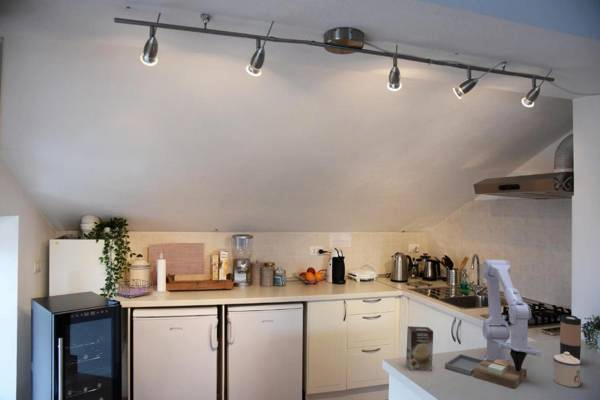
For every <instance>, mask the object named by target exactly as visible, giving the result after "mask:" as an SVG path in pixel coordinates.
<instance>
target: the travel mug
mask: <svg viewBox="0 0 600 400" xmlns="http://www.w3.org/2000/svg"><path fill="white" fill-rule="evenodd" d="M559 327H560V328H559V329H560V330H559V331H560V332H559V333H560V334H559V335H560V336H559V349H560V350H559V355H560V354H564V352H569V353H570V355H571V356H573V357H574V358H577V359H578V360H580V361H581V348H582V347H581V345H582V318H579V317H577V316H576V315H571V314H561V315H560V326H559Z"/></svg>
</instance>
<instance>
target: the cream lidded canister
mask: <svg viewBox="0 0 600 400" xmlns="http://www.w3.org/2000/svg"><path fill="white" fill-rule="evenodd" d="M552 359H553V377H552V378H553V381H554V382H555V383H557V384H558V385H561V386H565V387H569V388H577V387H579V386H581V365H582V362H581V359H580V360H578V359H577V358H574V357H573V356H571V355H570V353H569V352H564V354H560V353H559V354H554V356H553V357H552Z"/></svg>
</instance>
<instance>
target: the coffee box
mask: <svg viewBox="0 0 600 400" xmlns="http://www.w3.org/2000/svg"><path fill="white" fill-rule="evenodd" d="M406 332H407V336H406V357H405V359H406V360H405V364H406V366H407V367H408V369H409V370H411V371H432V370H433V351H434V346H433V345H434V330H432V328H430V327H428V326H407V331H406Z"/></svg>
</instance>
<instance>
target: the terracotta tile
mask: <svg viewBox="0 0 600 400" xmlns="http://www.w3.org/2000/svg"><path fill="white" fill-rule="evenodd" d="M494 364H497V365H501V366H504V367H506V371H507V370H508V369H510V368H511V365H512V362H510V361H503V360H499V359H497V360H496V361H495V362H494Z"/></svg>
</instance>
